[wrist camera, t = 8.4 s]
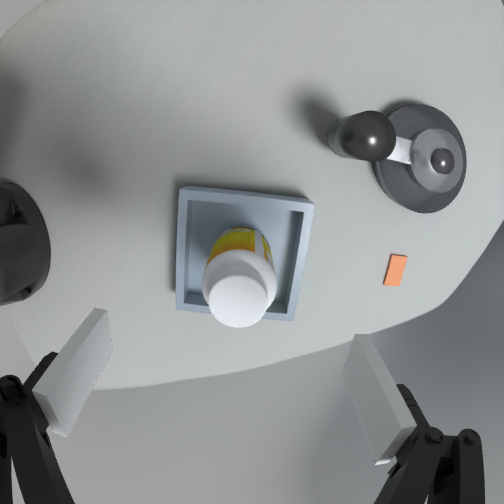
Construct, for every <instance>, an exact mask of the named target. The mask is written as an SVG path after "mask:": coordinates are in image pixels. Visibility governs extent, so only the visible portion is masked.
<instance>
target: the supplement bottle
mask: <svg viewBox="0 0 504 504" xmlns="http://www.w3.org/2000/svg"><path fill="white" fill-rule="evenodd" d="M201 287H202V293H203V296H204V298H205V300H206V302H207V304H208V305H209V309H210V311H211V313H212V315H213V316H214V317H215V318H216V319H217V320H218V321H219V322H221V323H222V324H224V325H227V326H230V327H236V328H242V327H247V326H250V325H252V324H254V323H256V322H257V321H259V320H260V319H261V318H262V317H263V315H264V314H265V312H266V310H267V308H268V307H269V306H270V305H271V304H272V302H273V300H274V298H275V295H276V291H277V279H276V274H275V269H274V263H273V259H272V254H271V249H270V246H269V243H268V241H267V239H266V238H265V237H264V235H263V234H262V233H260V232H259V231H258V230H256V229H254V228H251V227H248V226H235V227H231V228H229V229H227V230H225V231H224V232H222V233H221V234H220V235H219V236H218V238H217V239H216V241H215V243H214V245H213V248H212V251H211V253H210V256H209V259H208V262H207V264H206V267H205V270H204V273H203V276H202V283H201Z"/></svg>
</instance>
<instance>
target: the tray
mask: <svg viewBox="0 0 504 504" xmlns="http://www.w3.org/2000/svg"><path fill="white" fill-rule="evenodd" d="M314 206H315V204H314V203H313V202H312V201H310V200H309V199H308V198H300V197H292V196H285V195H276V194H268V193H259V192H250V191H241V190H231V189H221V188H210V187H198V186H185V187H183V188H181V189H180V190H179V203H178V221H177V247H176V309H177V310H184V311H192V312H200V313H209V314H212V313H211V311H210V309H209V305H208V304H207V302H206V300H205V298H204V296H203V293H202V287H201V283H202V276H203V273H204V270H205V267H206V264H207V262H208V259H209V256H210V253H211V251H212V248H213V245H214V243H215V241H216V239H217V238H218V236H219V235H220V234H221V233H222V232H224V231H225V230H227V229H229V228H231V227H235V226H248V227H251V228H254V229H256V230H258V231H259V232H260V233H262V234H263V235H264V237H265V238H266V239H267V241H268V243H269V246H270V249H271V254H272V259H273V263H274V269H275V274H276V279H277V291H276V295H275V298H274V300H273V302H272V304H271V305H270V306H269V307H268V308H267V310H266V312H265V314H264V315H263V317H262V318H261V319H270V320H283V321H294V316H295V311H296V306H297V301H298V296H299V291H300V286H301V281H302V275H303V270H304V265H305V259H306V254H307V248H308V242H309V236H310V230H311V224H312V218H313V212H314Z"/></svg>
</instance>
